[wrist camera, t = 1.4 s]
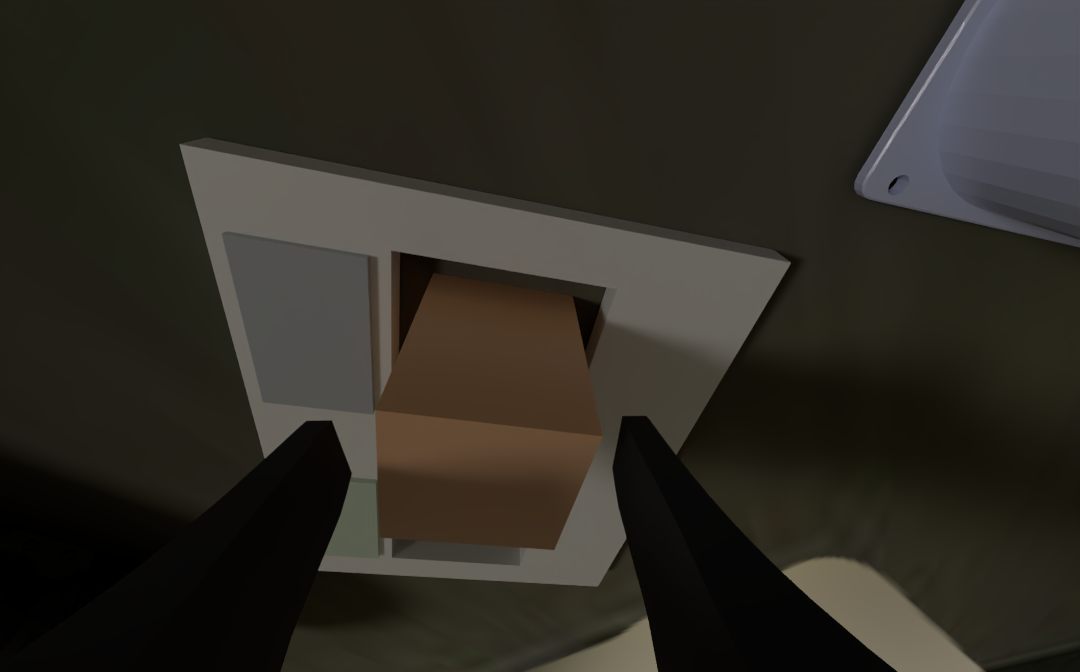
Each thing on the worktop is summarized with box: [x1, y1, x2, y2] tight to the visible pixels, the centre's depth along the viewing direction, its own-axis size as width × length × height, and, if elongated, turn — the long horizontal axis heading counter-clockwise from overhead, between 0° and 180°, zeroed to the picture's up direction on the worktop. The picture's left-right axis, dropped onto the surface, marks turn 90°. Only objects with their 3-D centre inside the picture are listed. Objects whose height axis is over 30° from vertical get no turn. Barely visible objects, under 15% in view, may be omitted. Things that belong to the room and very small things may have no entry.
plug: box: [375, 273, 603, 550], centre depth 12 cm, size 4×5×6 cm
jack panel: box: [180, 138, 791, 586], centre depth 16 cm, size 16×20×1 cm
